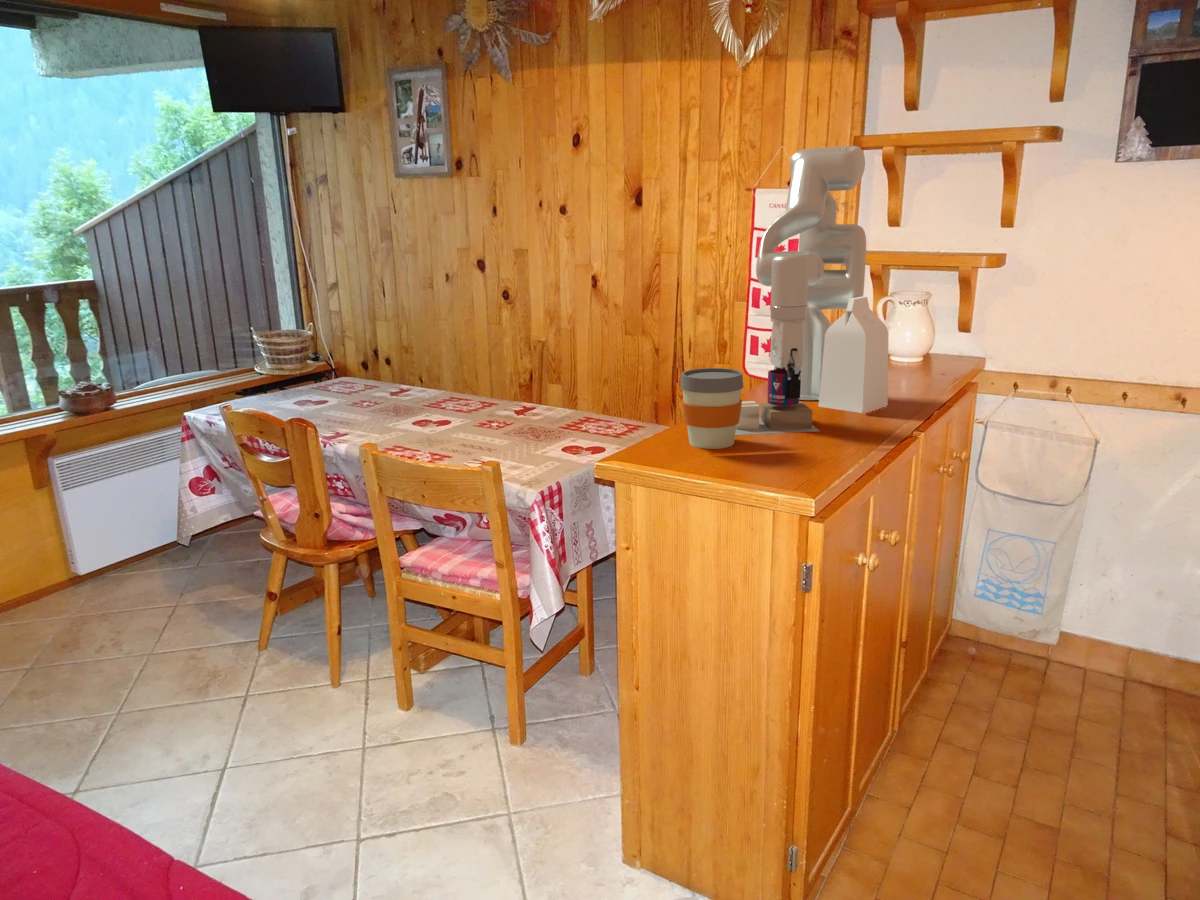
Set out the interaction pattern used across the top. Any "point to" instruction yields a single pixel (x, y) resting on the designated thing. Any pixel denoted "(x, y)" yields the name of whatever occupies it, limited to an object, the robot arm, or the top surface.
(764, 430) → the board
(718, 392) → the reusable coffee cup
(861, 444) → the top surface
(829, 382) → the milk
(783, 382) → the cup
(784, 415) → the walnut slab
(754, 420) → the birch cube
